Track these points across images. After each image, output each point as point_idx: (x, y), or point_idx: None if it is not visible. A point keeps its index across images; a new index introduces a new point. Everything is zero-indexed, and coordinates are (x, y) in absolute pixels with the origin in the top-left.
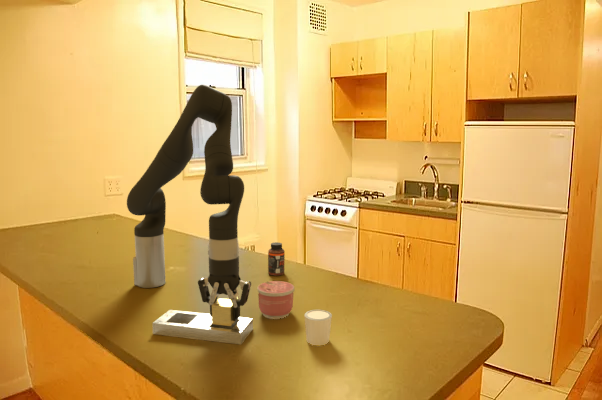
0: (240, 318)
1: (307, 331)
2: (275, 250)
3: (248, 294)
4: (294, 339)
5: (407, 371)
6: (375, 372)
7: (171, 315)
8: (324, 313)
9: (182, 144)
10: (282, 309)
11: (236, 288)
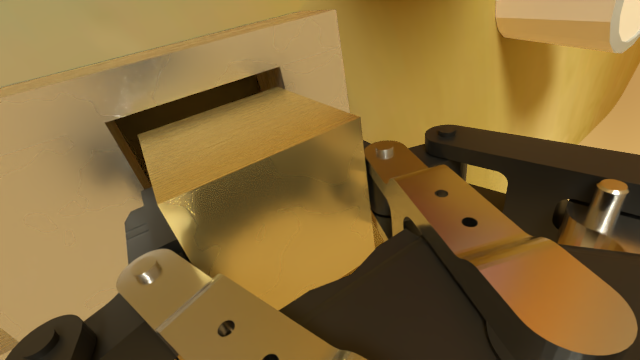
0: (271, 53)
1: (543, 35)
2: None
3: (526, 144)
4: (465, 24)
5: (619, 53)
6: (583, 90)
7: None
8: None
9: None
10: None
11: (484, 205)
